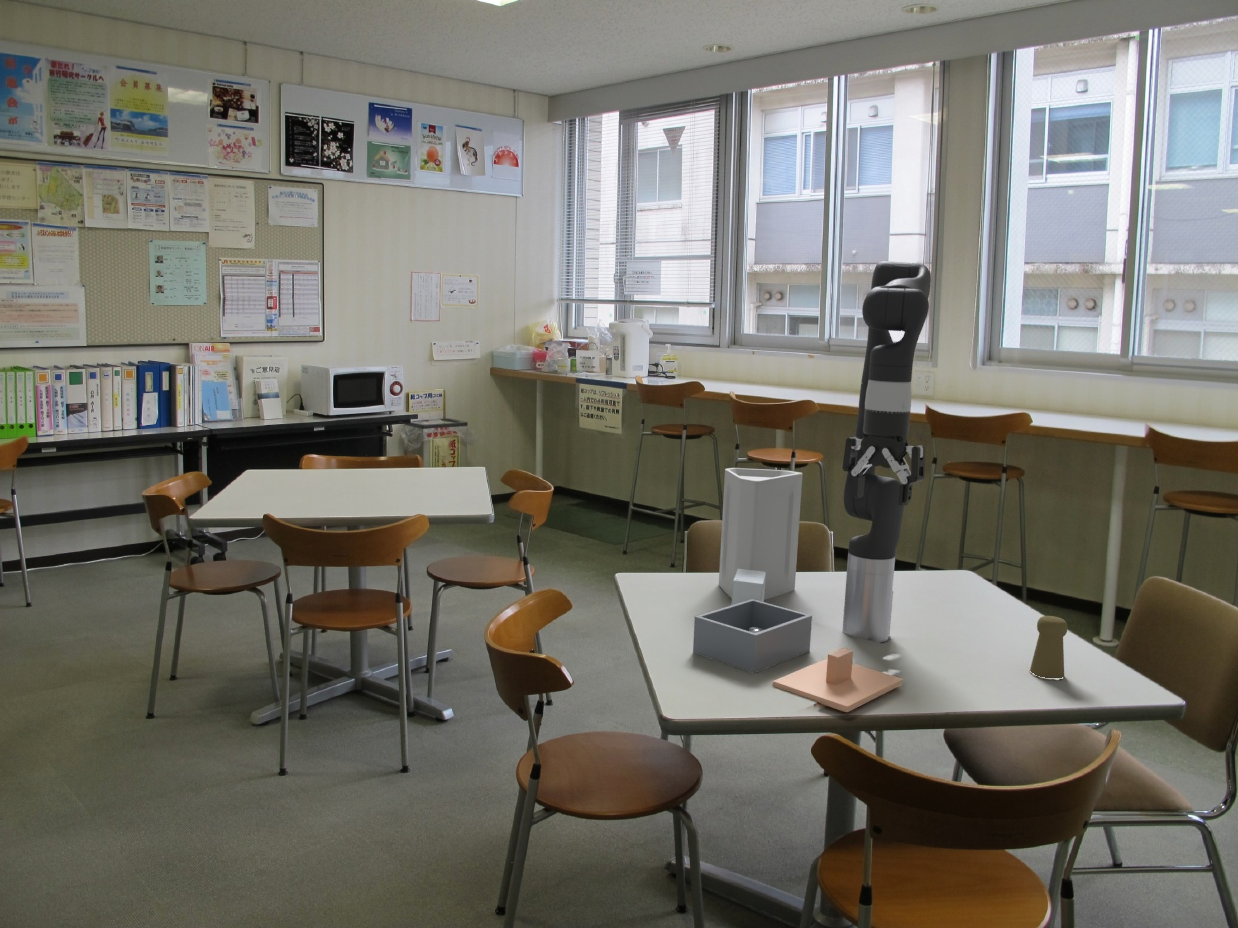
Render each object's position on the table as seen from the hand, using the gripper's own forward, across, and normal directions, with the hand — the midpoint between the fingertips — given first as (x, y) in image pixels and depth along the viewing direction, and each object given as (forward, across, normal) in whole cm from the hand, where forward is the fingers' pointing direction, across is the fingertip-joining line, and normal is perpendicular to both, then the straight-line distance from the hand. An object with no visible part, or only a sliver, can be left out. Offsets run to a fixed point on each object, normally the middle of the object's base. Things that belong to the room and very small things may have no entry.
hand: (880, 501), depth 172 cm
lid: (+34, +2, +6) cm, 34 cm away
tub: (+33, +22, +4) cm, 40 cm away
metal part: (+32, +24, 0) cm, 40 cm away
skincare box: (+33, +35, -12) cm, 50 cm away
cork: (+33, -20, -31) cm, 50 cm away
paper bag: (+33, +50, -33) cm, 69 cm away
